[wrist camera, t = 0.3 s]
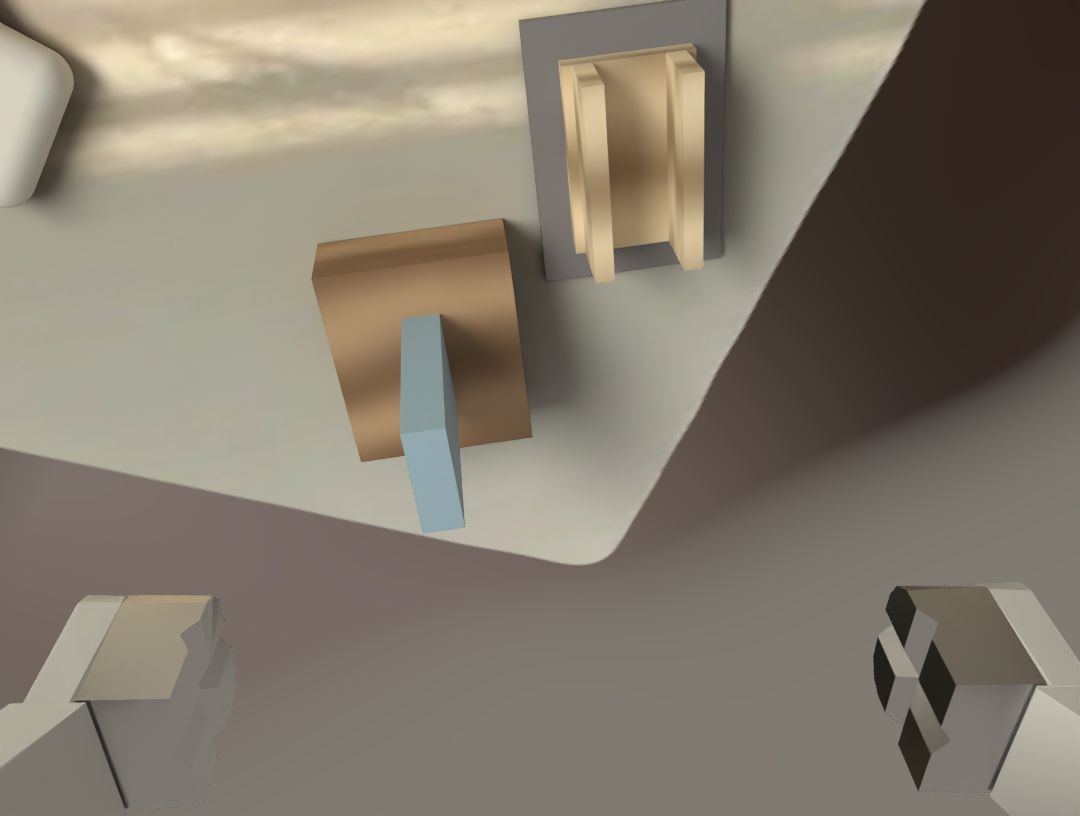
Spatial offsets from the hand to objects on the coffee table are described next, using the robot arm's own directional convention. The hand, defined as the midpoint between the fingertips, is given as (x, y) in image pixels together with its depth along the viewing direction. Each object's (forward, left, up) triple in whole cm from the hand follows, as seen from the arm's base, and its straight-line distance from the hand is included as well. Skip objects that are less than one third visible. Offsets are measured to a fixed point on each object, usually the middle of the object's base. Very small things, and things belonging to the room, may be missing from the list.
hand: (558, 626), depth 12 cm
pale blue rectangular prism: (+19, -4, -35) cm, 40 cm away
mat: (+10, +8, -39) cm, 41 cm away
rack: (+10, +8, -39) cm, 41 cm away
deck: (+19, -4, -39) cm, 44 cm away
